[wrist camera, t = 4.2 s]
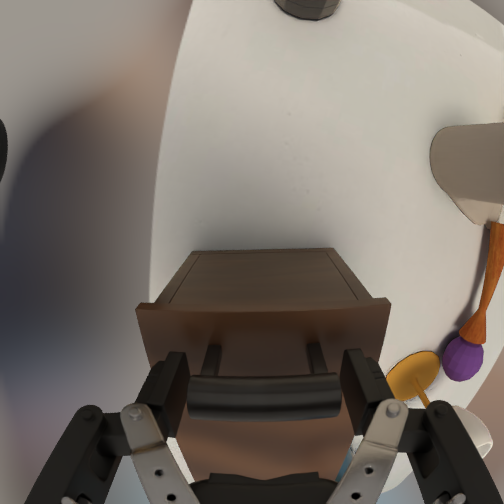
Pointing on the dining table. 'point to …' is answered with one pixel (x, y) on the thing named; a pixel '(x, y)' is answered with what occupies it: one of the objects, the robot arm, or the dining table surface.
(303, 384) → the lid
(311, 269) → the chest
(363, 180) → the dining table surface
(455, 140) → the candle
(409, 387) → the cup
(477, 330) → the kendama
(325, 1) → the bowl
